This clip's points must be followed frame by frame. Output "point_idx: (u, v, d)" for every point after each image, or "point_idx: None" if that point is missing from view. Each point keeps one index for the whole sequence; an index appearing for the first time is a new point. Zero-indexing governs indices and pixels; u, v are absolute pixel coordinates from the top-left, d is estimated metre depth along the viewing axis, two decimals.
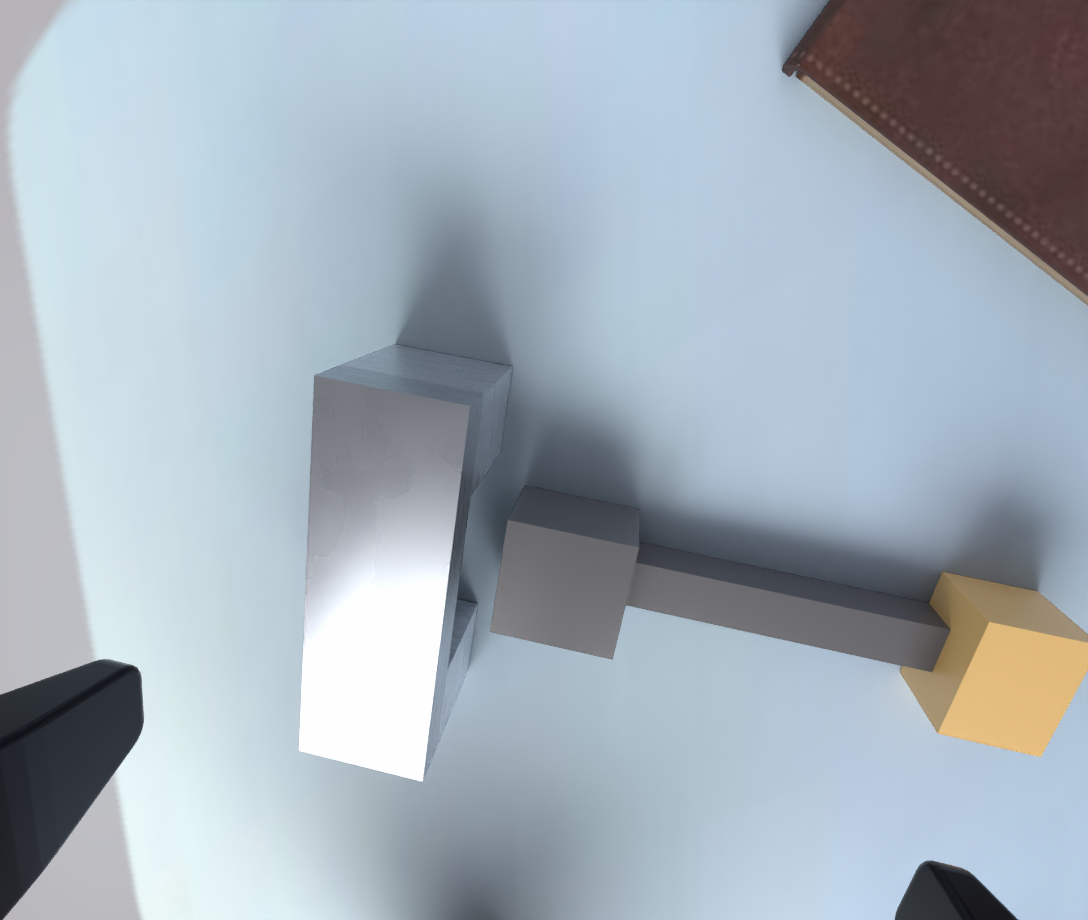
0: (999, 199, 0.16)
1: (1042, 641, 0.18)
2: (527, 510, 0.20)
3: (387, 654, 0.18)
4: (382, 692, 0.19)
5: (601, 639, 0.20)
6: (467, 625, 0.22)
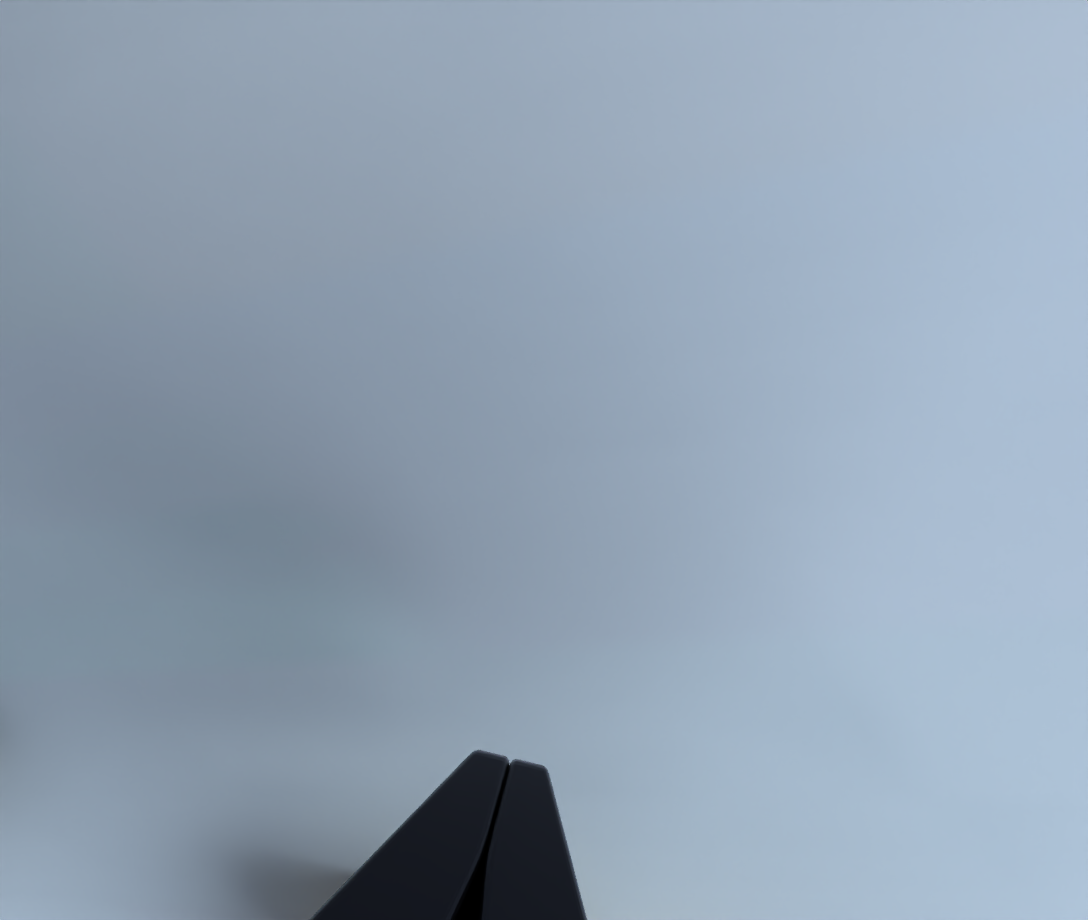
0: None
1: None
2: None
3: None
4: None
5: None
6: None
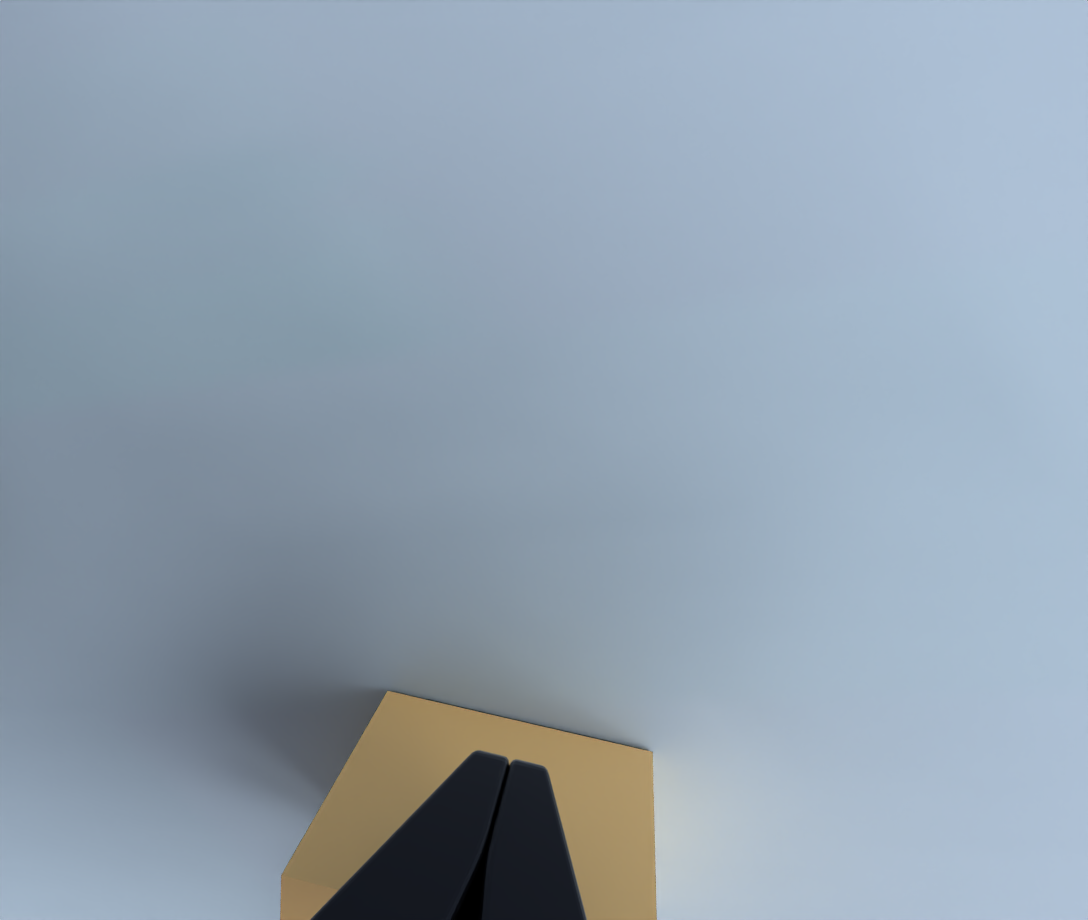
0: None
1: None
2: None
3: None
4: None
5: None
6: None
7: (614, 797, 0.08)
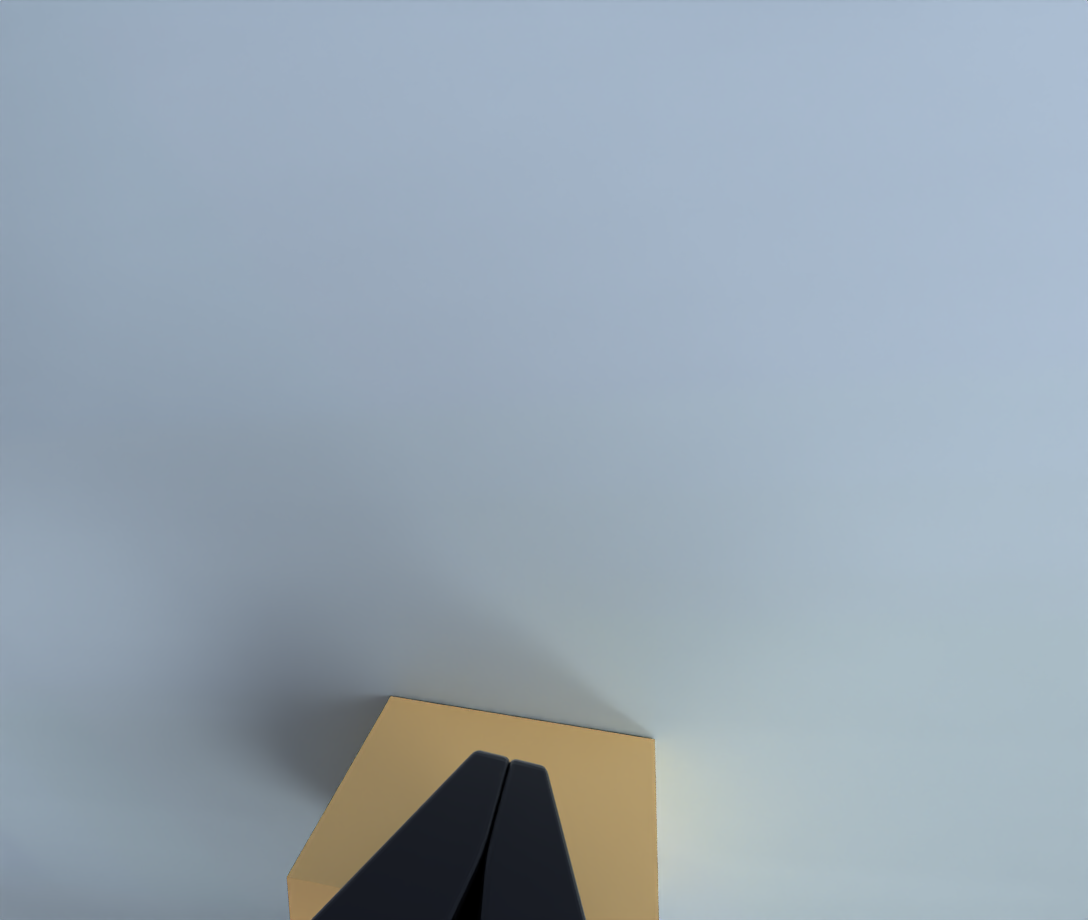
0: None
1: None
2: None
3: None
4: None
5: None
6: None
7: (616, 785, 0.08)
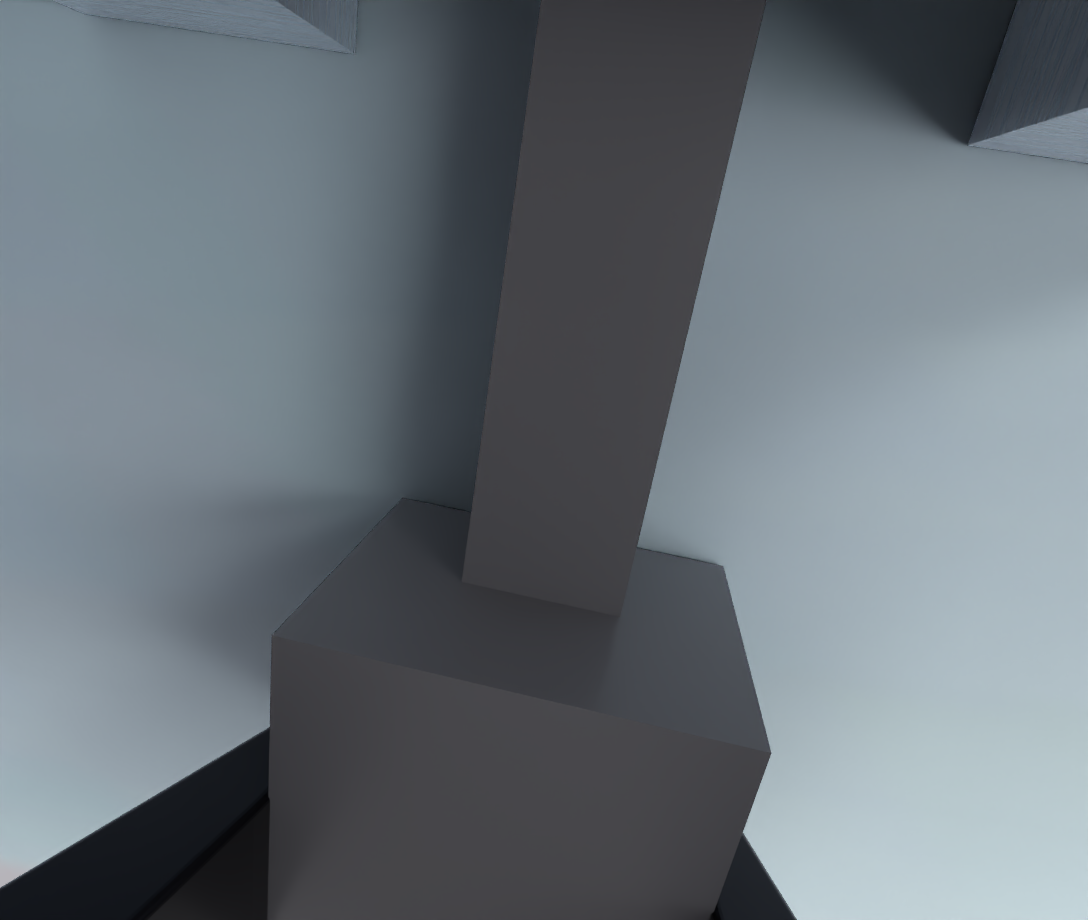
0: None
1: None
2: None
3: None
4: None
5: (672, 781, 0.05)
6: None
7: None
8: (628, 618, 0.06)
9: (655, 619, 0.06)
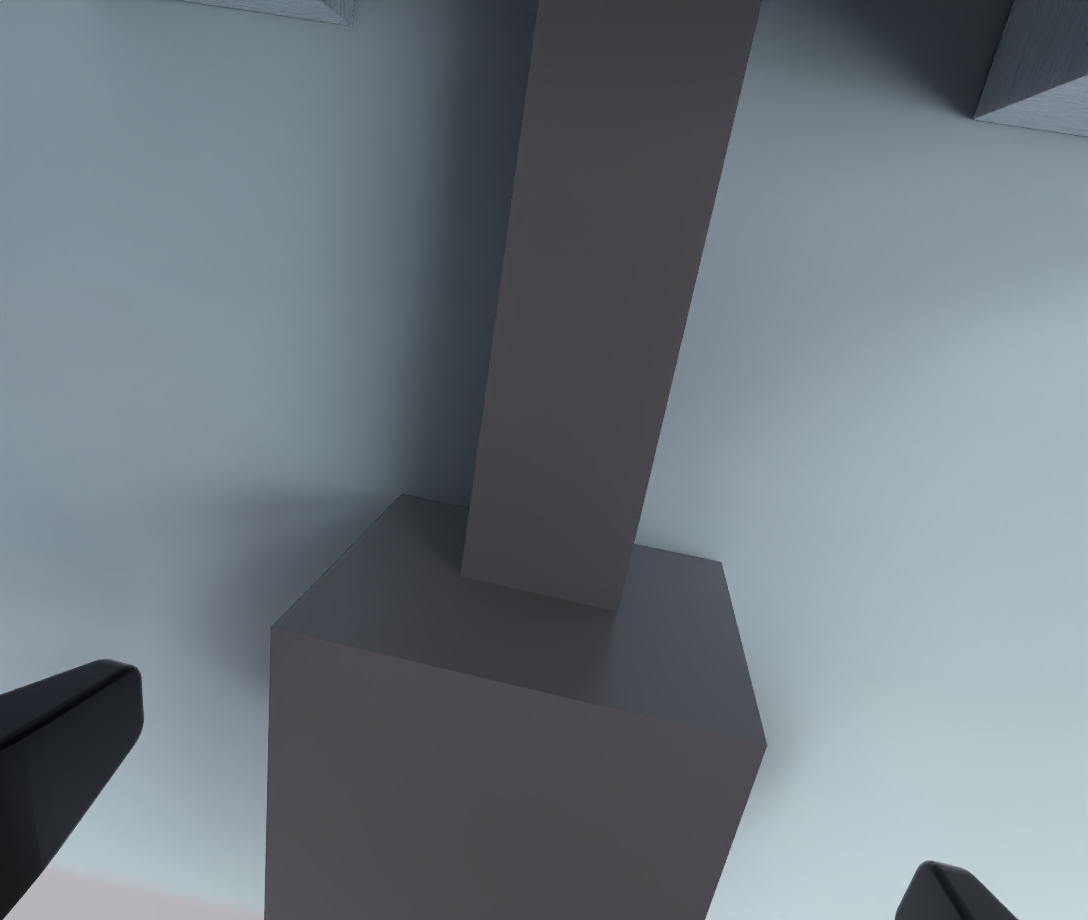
0: None
1: None
2: None
3: None
4: None
5: (669, 773, 0.05)
6: None
7: None
8: (626, 613, 0.06)
9: (653, 614, 0.06)
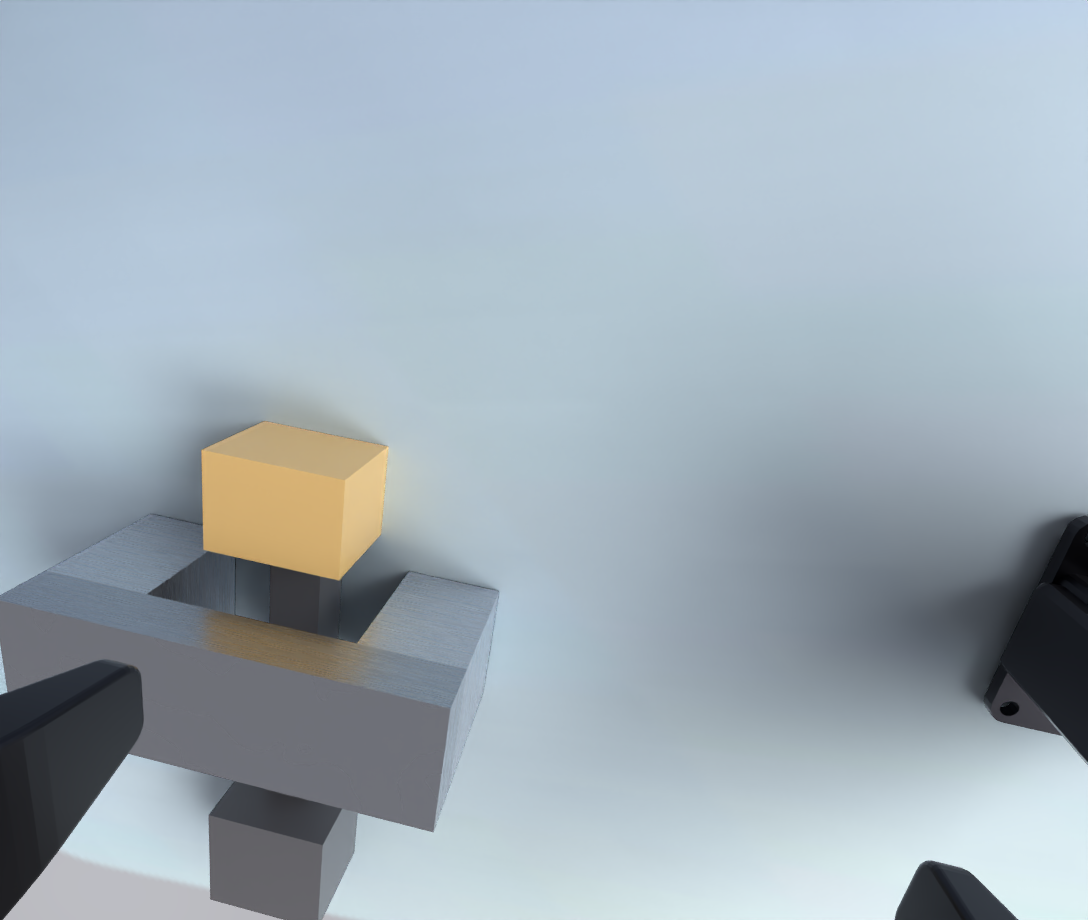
0: None
1: (211, 501, 0.17)
2: None
3: (279, 715, 0.16)
4: (329, 729, 0.16)
5: (303, 851, 0.21)
6: (393, 594, 0.19)
7: (358, 452, 0.18)
8: (311, 801, 0.22)
9: None
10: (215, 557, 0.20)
